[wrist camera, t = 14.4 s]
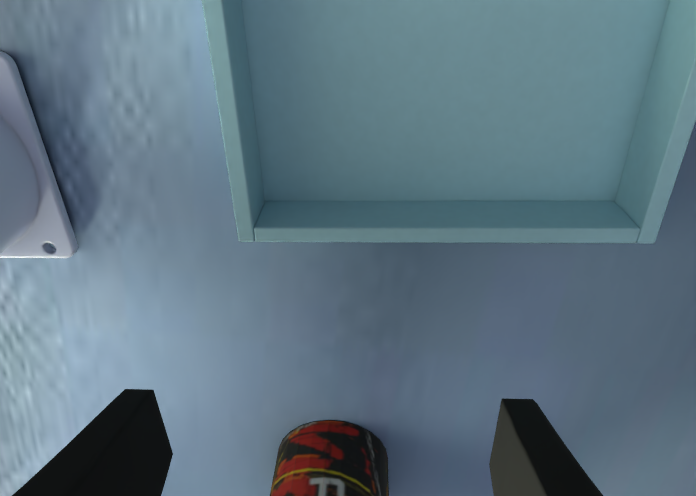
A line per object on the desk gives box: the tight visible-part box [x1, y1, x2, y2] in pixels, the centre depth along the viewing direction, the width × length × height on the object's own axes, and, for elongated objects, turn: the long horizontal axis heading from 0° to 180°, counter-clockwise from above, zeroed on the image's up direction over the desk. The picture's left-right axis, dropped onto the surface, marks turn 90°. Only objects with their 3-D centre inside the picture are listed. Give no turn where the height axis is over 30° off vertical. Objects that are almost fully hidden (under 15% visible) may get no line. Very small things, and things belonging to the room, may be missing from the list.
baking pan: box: [202, 0, 696, 244], centre depth 15 cm, size 14×13×2 cm
